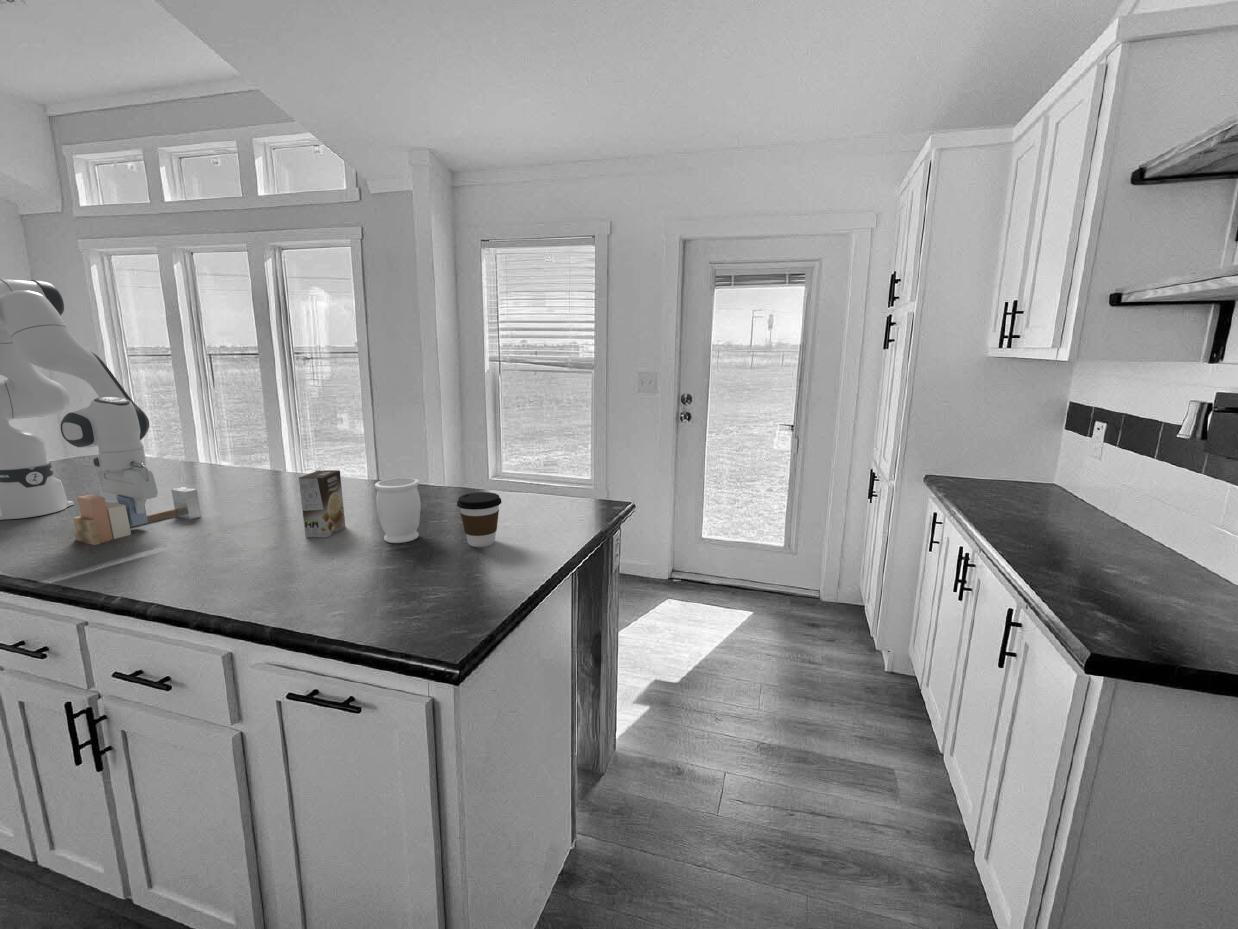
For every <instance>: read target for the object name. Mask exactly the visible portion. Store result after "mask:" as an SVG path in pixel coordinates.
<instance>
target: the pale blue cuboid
mask: <svg viewBox="0 0 1238 929" xmlns="http://www.w3.org/2000/svg"><path fill="white" fill-rule="evenodd" d="M117 500H118V504H123V505H126V511H127V516H128V521H129V525H130V526H134V527H137V526H136V525H138V526H141V525H140V524H142V525H145V524H144V523H146V524H149V523H148V520H147V515H148V514H147V510H146V508H145V513H142V514H137V513H135V512H134V507H135V502H134V499H133V498H131V497H126V496H122V495H119V496H117Z"/></svg>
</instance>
